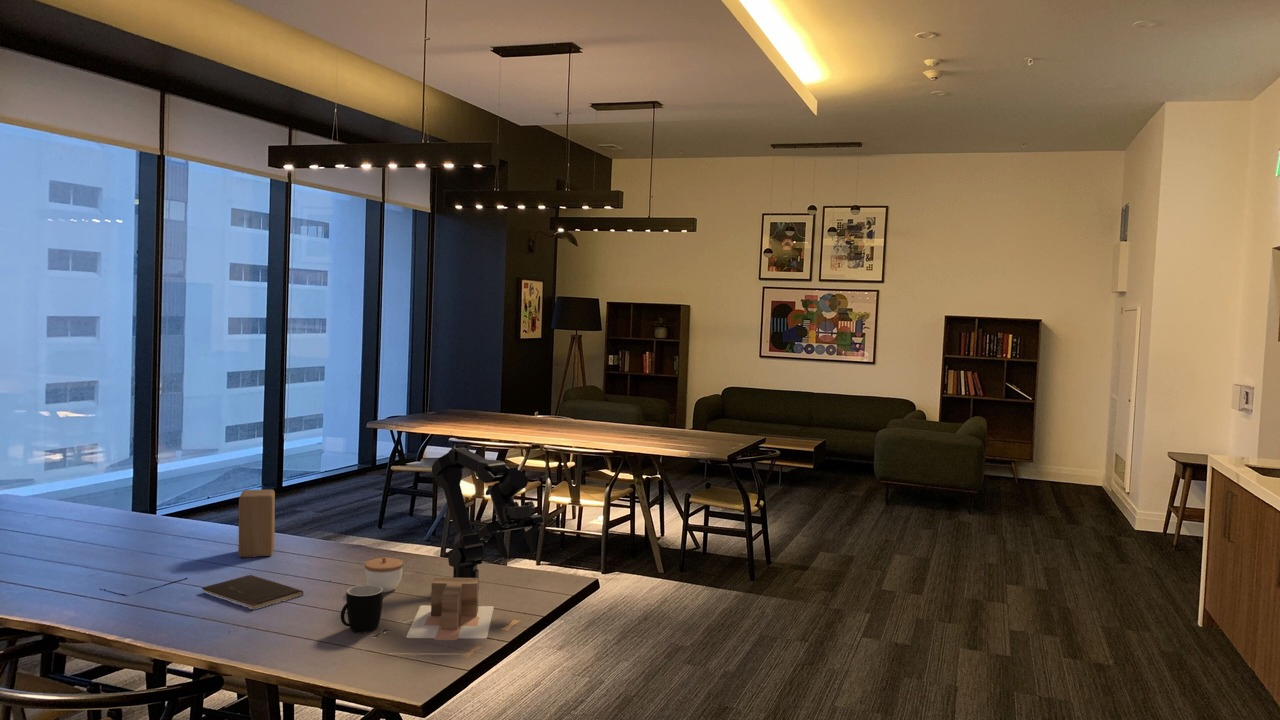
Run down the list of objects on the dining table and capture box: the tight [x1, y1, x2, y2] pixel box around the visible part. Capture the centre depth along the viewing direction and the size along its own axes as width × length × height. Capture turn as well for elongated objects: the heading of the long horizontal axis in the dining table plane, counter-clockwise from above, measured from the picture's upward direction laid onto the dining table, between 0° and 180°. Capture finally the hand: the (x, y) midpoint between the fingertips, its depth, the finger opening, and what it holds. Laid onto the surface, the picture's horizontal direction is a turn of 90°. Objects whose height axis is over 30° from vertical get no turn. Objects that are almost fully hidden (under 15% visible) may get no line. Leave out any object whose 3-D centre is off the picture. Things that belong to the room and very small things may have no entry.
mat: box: [405, 605, 495, 641], centre depth 244 cm, size 25×20×1 cm
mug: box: [340, 584, 384, 634], centre depth 237 cm, size 12×9×10 cm
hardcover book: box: [201, 574, 304, 609], centre depth 261 cm, size 16×23×2 cm
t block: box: [430, 577, 480, 630], centre depth 246 cm, size 15×12×9 cm
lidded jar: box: [364, 556, 404, 593], centre depth 270 cm, size 11×11×9 cm
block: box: [238, 489, 276, 558], centre depth 299 cm, size 10×10×20 cm
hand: (520, 556), depth 255 cm, fingers open, 9 cm apart
